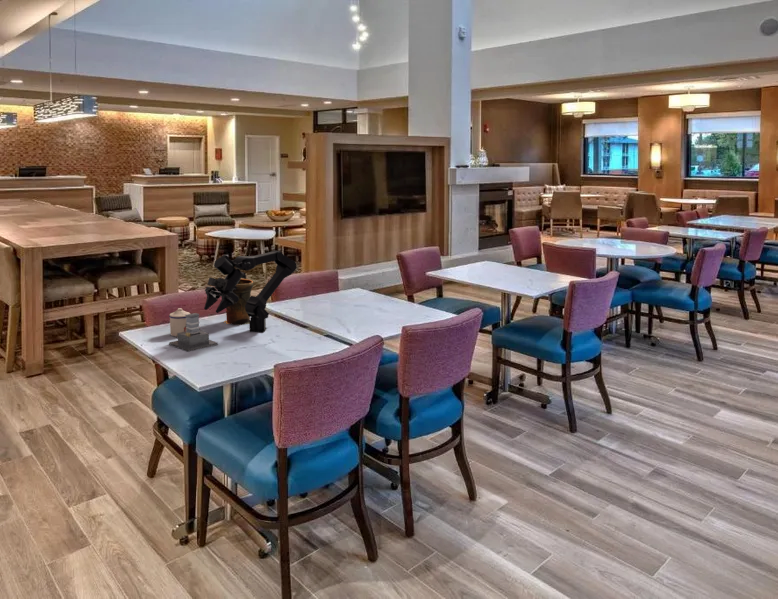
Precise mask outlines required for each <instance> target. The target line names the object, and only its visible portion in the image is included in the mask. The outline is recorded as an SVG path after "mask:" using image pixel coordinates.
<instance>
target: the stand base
mask: <svg viewBox="0 0 778 599" xmlns="http://www.w3.org/2000/svg"><path fill="white" fill-rule="evenodd" d="M199 331H200V333H199V334H196V335H190V333H189V332H188V333H186V332H181V333H177V334H178V337H177V340H173V341H169V342H168V344H169V346H172V347H174V348H177V349H180V350H182V351H186V352H188V353H189V352H193V351H197V350H201V349H205V348H211V347H214V346H218V345H219V344H218V342H217V341H214V340H212V339H210V334H209V332H206V331H203V330H200V329H199Z"/></svg>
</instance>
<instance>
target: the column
mask: <svg viewBox="0 0 778 599" xmlns="http://www.w3.org/2000/svg"><path fill="white" fill-rule="evenodd" d="M186 325H187V326H186V328H187V331H186V333H188V332H189V333H190V335H196V334H199V333H200V331H201V330H200V314H199V312H198V313H197V312H194V313H193V312H192V313H190V314H187V315H186ZM199 330H200V331H199Z"/></svg>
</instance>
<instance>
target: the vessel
mask: <svg viewBox="0 0 778 599" xmlns="http://www.w3.org/2000/svg"><path fill="white" fill-rule="evenodd" d="M236 287H237V289H234V290H233V291H232V292H234V293H235V294H236V295H237V296H238V297H239V301H238V302H237V303H234V305H231V306H229V307H227V308H225V312H226V313H225V314H226V316H225V317H226V320H224V322H223V323H224V324H227V325H232V326H244V325H249V321H250V320H251V319H250V318H251V317H249V316H248V314H247V312H246V310H245V305H246V302H247V301H248V300H249V298H250V297H251V296H252V295H251V293H252V289H253V288H254V281H253V280H252V279H248V278H246V279H243V278H241V279H240V281H239V282H238V284H237V285H236ZM225 322H226V323H225Z"/></svg>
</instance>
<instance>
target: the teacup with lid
mask: <svg viewBox="0 0 778 599" xmlns="http://www.w3.org/2000/svg"><path fill="white" fill-rule="evenodd" d="M187 314H191V313H190V312H188V311H185V310H183V308H181V307H179V308H177V310H175V311H174V312H171V313H169V326H170V329H169V330H170V335H171V336H172V337H177V338H178V334H177V333H181V332H186V331H187V328H186V326H187V325H186V315H187Z"/></svg>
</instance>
